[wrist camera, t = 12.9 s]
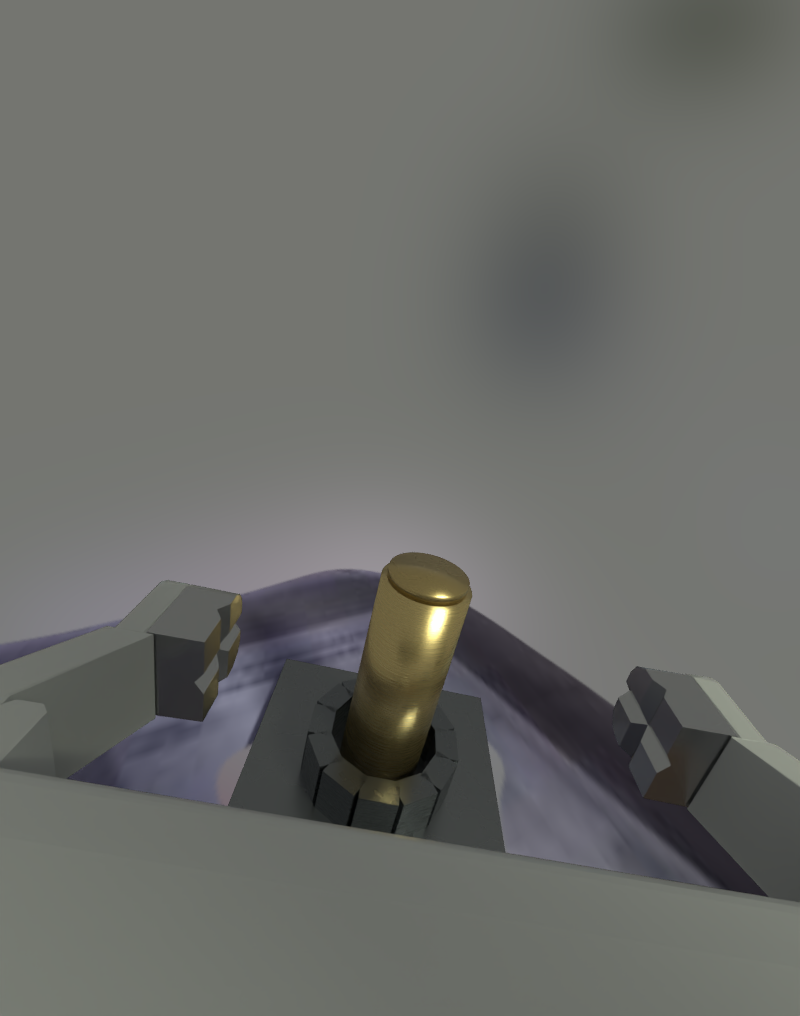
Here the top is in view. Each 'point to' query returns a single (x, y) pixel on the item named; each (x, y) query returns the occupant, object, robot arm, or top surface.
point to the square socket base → (353, 795)
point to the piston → (404, 663)
